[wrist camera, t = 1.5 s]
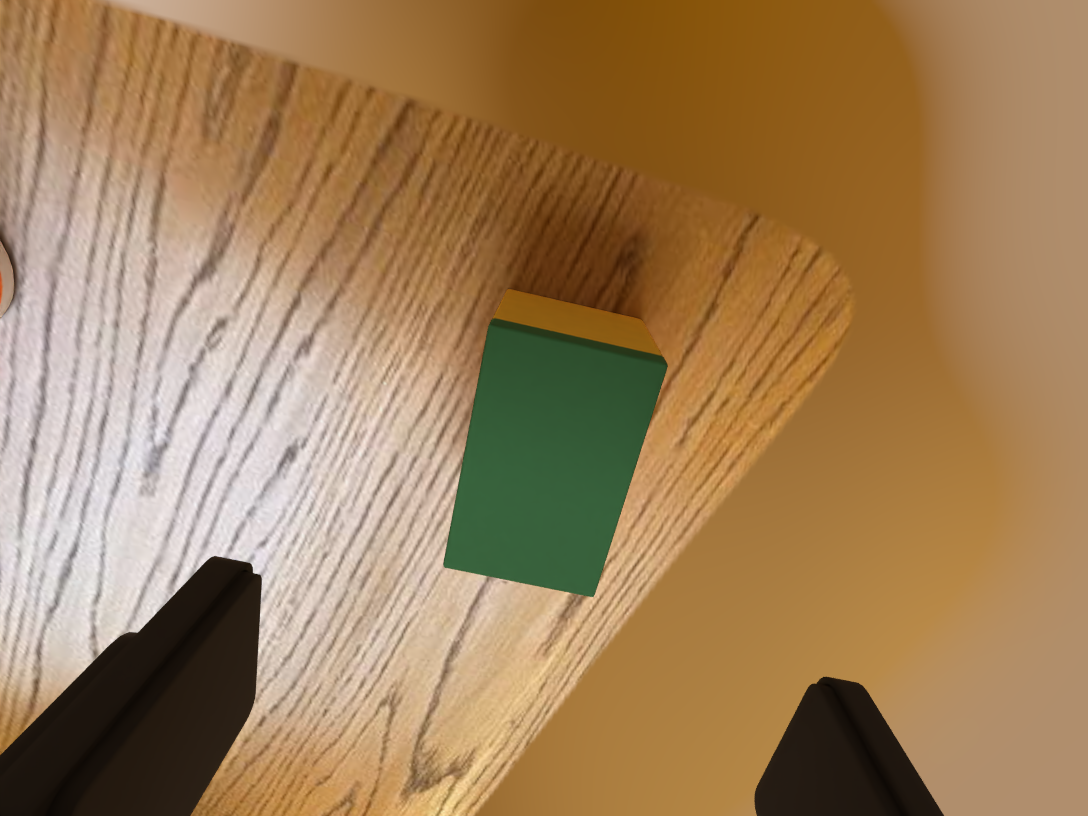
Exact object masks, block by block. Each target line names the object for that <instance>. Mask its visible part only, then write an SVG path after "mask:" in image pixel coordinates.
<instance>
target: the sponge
mask: <svg viewBox="0 0 1088 816" xmlns="http://www.w3.org/2000/svg"><path fill="white" fill-rule="evenodd" d="M667 367H668V365H667V363H666V361H665V359H664V357H663V356H662V354H661V352H660V350H659V349H658V347H657V345H656V343H655V342H654V340H653V338H652V336H651V335H650V333H649V331H648V329H647V327H646V326H645V324H644V322H643V320H641V319H638V318H634V317H630V316H625V315H621V314H616V313H612V312H608V311H603V310H599V309H595V308H590V307H586V306H582V305H577V304H573V303H568V302H564V301H560V300H555V299H551V298H547V297H542V296H538V295H533V294H529V293H525V292H520V291H516V290H512V289H507V291H506V293H505V295H504V297H503V299H502V301H501V303H500V304H499V306H498V308H497V310H496V312H495V314H494V316H493V318H492V320H491V322H490V324H489V326H488V331H487V336H486V341H485V347H484V352H483V357H482V362H481V368H480V373H479V378H478V384H477V389H476V394H475V399H474V405H473V410H472V415H471V420H470V426H469V431H468V436H467V442H466V447H465V452H464V457H463V463H462V468H461V473H460V478H459V484H458V489H457V494H456V500H455V505H454V510H453V515H452V521H451V526H450V531H449V537H448V542H447V547H446V552H445V558H444V563H443V565H444V567H445V568H450V569H455V570H460V571H465V572H470V573H475V574H480V575H485V576H490V577H495V578H500V579H505V580H510V581H515V582H520V583H525V584H530V585H535V586H540V587H545V588H550V589H555V590H559V591H564V592H569V593H574V594H579V595H584V596H589V597H593V596H594V595H595V592H596V589H597V586H598V583H599V580H600V577H601V573H602V570H603V567H604V564H605V561H606V558H607V555H608V552H609V548H610V545H611V542H612V539H613V536H614V533H615V530H616V527H617V523H618V520H619V517H620V514H621V511H622V508H623V505H624V502H625V498H626V495H627V492H628V489H629V486H630V483H631V480H632V477H633V473H634V470H635V467H636V464H637V461H638V458H639V455H640V452H641V448H642V445H643V442H644V439H645V436H646V433H647V430H648V427H649V423H650V420H651V417H652V414H653V411H654V408H655V405H656V402H657V398H658V395H659V392H660V389H661V386H662V383H663V380H664V377H665V373H666V370H667Z"/></svg>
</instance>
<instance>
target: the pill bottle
mask: <svg viewBox="0 0 1088 816" xmlns="http://www.w3.org/2000/svg"><path fill="white" fill-rule="evenodd" d="M13 293H14V278H13V269H12V266H11V263H10V259H9V256H8V254H7V252H6V250H5V248H4V247H3V245H2V243H1V241H0V318H1V317H2V315H3V314H4V313H5V312H6V310H7V308H8V307H9V305H10V303H11V301H12V298H13Z"/></svg>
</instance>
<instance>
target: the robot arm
mask: <svg viewBox="0 0 1088 816" xmlns="http://www.w3.org/2000/svg"><path fill="white" fill-rule="evenodd" d="M261 586H262V578H261V575H259V574H254V573H253V567H252V565H251V564H250V563H247V562H242V561H237V560H232V559H227V558H222V557H217V556H214V557H211V558H210V559H208V560H207V561H206V562H205V563H204V564H203V565H202V566H201V567H200V568H199V569H198V570H197V572H196V573H195V574H194V575H193V576H192V577H191V578H190V579H189V580H188V581H187V582H186V583H185V584H184V585H183V586H182V587H181V588H180V589H179V590H178V591H177V592H176V594H175V595H174V596H173V597H172V598H171V599H170V600H169V601H168V602H167V603H166V604H165V605H164V606H163V607H162V608H161V609H160V610H159V611H158V612H157V613H156V614H155V616H154V617H153V618H152V619H151V620H150V621H149V622H148V623H147V624H146V625H145V626H144V627H143V628H142V629H141V630H140V631H139V632H138V633H134V632H128V633H126V634H124V635H122V636H120V637H119V638H117V639H116V640H115V641H114V642H113V643H111V644H110V645H109V646H108V647H107V648H106V649H105V650H104V651H103V652H102V653H101V654H100V655H99V656H98V657H97V658H96V659H95V660H94V661H93V662H92V663H91V664H90V665H89V666H88V667H87V668H86V670H85V671H84V672H83V673H82V674H81V675H80V676H79V677H78V678H77V679H76V680H75V681H74V682H73V683H72V684H71V685H70V686H69V687H68V688H67V689H66V690H65V691H64V692H63V693H62V694H61V695H60V696H59V697H58V698H57V699H56V700H55V701H54V702H53V703H52V704H51V705H50V706H49V707H48V708H47V709H46V710H45V711H44V712H43V713H42V714H41V715H40V716H39V717H38V718H37V719H36V720H35V721H34V722H33V723H32V724H31V725H30V726H29V727H28V728H27V729H26V730H25V731H24V732H23V733H22V734H21V735H20V736H19V737H18V738H17V739H16V740H15V741H14V742H13V743H12V744H11V745H10V746H9V747H8V748H7V749H6V750H5V751H4V752H3V753H2V754H1V755H0V816H190V815H191V813H192V812H193V810H194V808H195V807H196V805H197V803H198V802H199V800H200V798H201V797H202V795H203V793H204V792H205V790H206V788H207V786H208V785H209V783H210V781H211V780H212V778H213V776H214V775H215V773H216V771H217V770H218V768H219V766H220V764H221V763H222V761H223V759H224V758H225V756H226V754H227V753H228V751H229V749H230V748H231V746H232V744H233V742H234V741H235V739H236V737H237V736H238V734H239V732H240V731H241V729H242V727H243V726H244V724H245V722H246V720H247V718H248V717H249V714H250V712H251V710H252V707H253V704H254V700H255V694H256V677H257V659H258V640H259V622H260V604H261ZM755 809H756V814H757V816H944V815H943V813H942V812H941V810H940V809H939V807H938V805H937V804H936V802H935V801H934V799H933V797H932V795H931V794H930V792H929V791H928V789H927V787H926V786H925V784H924V783H923V781H922V779H921V778H920V776H919V775H918V773H917V771H916V770H915V768H914V766H913V765H912V763H911V762H910V760H909V758H908V757H907V755H906V753H905V752H904V750H903V749H902V747H901V745H900V744H899V742H898V740H897V739H896V737H895V736H894V734H893V732H892V731H891V729H890V727H889V726H888V724H887V723H886V721H885V719H884V718H883V716H882V714H881V713H880V711H879V710H878V708H877V706H876V705H875V703H874V702H873V700H872V698H871V697H870V695H869V693H868V692H867V691H866V689H865V688H864V687H863V686H862V685H860V684H859V683H856V682H851V681H846V680H841V679H835V678H830V677H823V678H821V679H820V680H819V681H818V682H817V684H811V685H810V686H809V687H808V689H807V691H806V692H805V695H804V696H803V698H802V700H801V702H800V704H799V706H798V708H797V710H796V712H795V714H794V716H793V718H792V720H791V721H790V723H789V725H788V727H787V729H786V731H785V733H784V735H783V737H782V739H781V741H780V743H779V745H778V747H777V749H776V751H775V752H774V754H773V756H772V758H771V761H770V762H769V764H768V766H767V768H766V770H765V772H764V774H763V776H762V778H761V780H760V782H759V783H758V785H757V788H756V791H755Z"/></svg>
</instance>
